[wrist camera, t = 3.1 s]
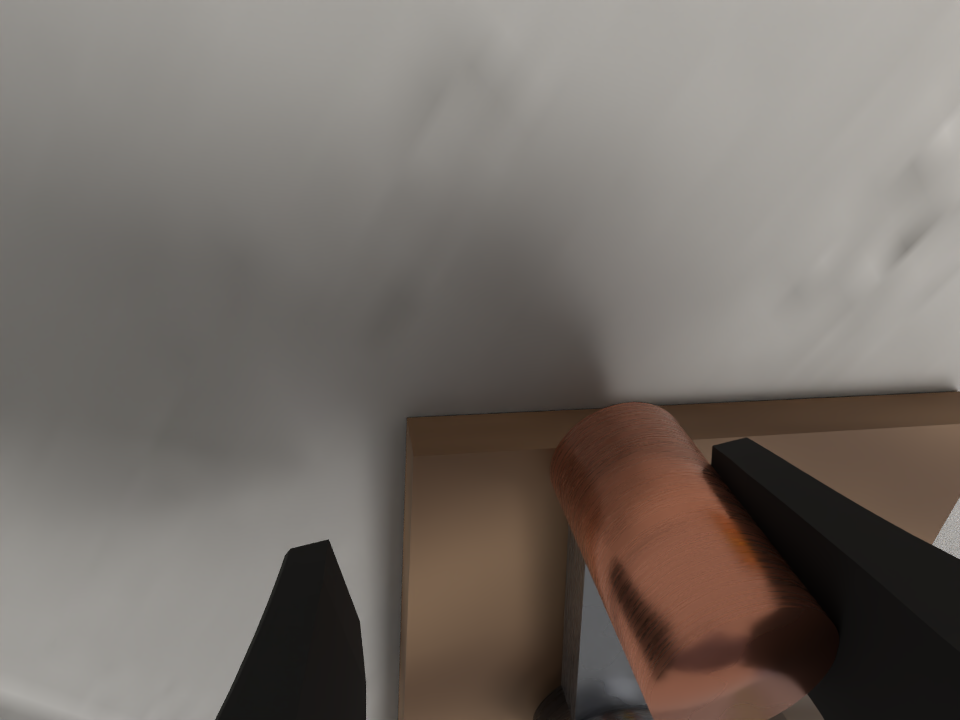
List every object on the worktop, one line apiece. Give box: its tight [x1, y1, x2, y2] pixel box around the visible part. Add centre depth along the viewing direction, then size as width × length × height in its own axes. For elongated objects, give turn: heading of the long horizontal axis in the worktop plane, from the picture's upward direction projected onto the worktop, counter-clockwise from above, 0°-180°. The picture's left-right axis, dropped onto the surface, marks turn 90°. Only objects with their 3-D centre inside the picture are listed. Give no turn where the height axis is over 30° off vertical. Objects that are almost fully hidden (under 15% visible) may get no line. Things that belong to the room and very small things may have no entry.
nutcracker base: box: [398, 392, 960, 720], centre depth 16 cm, size 15×13×3 cm
